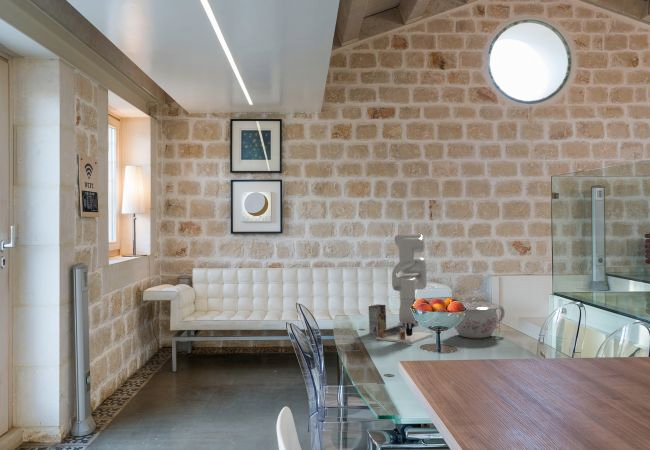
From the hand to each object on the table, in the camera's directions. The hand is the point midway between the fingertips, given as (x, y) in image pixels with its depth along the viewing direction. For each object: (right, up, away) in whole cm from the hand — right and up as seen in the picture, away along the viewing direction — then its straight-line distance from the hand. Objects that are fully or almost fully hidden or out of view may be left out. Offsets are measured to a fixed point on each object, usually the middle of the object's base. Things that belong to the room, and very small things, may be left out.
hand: (409, 335), depth 292 cm
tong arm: (-2, -2, +8) cm, 8 cm away
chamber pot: (+38, -2, +7) cm, 38 cm away
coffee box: (-14, -4, +25) cm, 29 cm away
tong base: (-7, -2, +12) cm, 14 cm away
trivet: (-1, -3, +9) cm, 10 cm away
